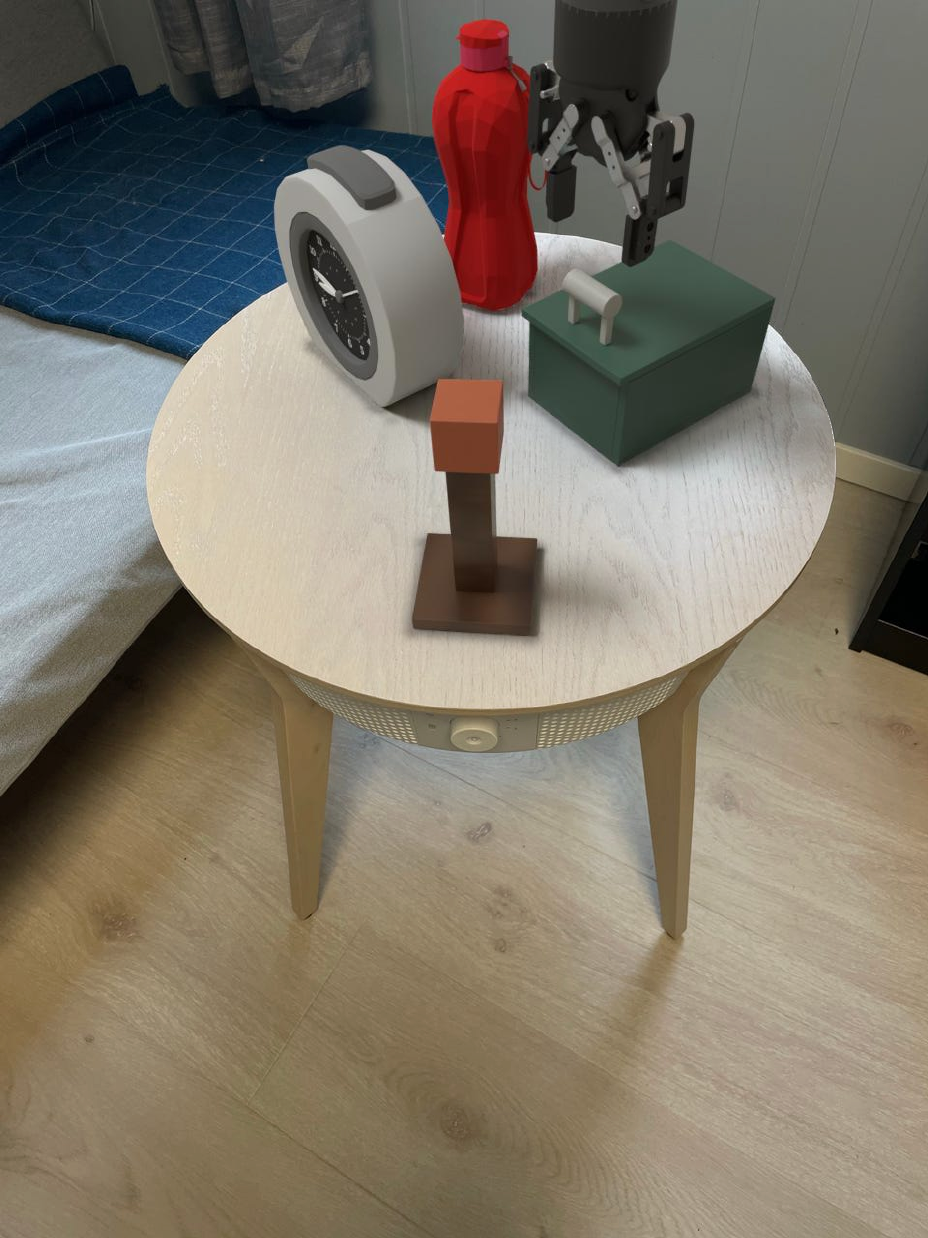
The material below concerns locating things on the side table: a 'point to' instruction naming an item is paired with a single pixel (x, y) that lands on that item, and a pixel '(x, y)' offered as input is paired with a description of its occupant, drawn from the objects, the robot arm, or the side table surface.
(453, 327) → the alarm clock
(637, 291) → the bin lid
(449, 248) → the water bottle
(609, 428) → the bin
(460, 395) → the block
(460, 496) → the stand
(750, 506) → the side table surface
